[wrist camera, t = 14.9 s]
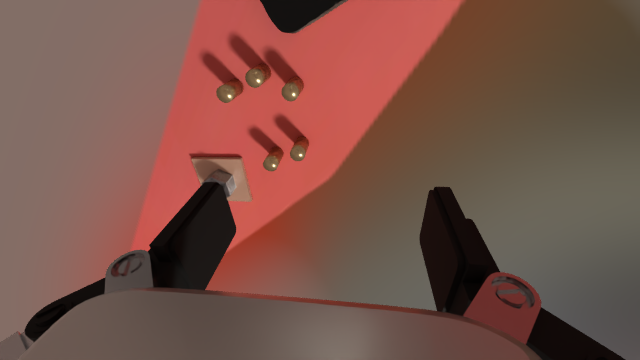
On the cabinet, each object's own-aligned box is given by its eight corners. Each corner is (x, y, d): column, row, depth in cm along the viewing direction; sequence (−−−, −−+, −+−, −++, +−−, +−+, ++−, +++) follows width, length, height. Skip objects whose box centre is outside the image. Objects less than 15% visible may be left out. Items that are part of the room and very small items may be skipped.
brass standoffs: (224, 65, 41) (210, 71, 37) (301, 62, 39) (295, 68, 35) (246, 158, 50) (237, 170, 46) (310, 158, 48) (306, 171, 44)
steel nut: (206, 168, 51) (198, 177, 49) (230, 168, 50) (223, 177, 48) (215, 192, 54) (208, 201, 52) (238, 192, 54) (232, 202, 51)
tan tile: (193, 157, 51) (191, 158, 50) (242, 157, 50) (240, 159, 49) (208, 197, 56) (206, 200, 56) (252, 199, 55) (251, 201, 54)
